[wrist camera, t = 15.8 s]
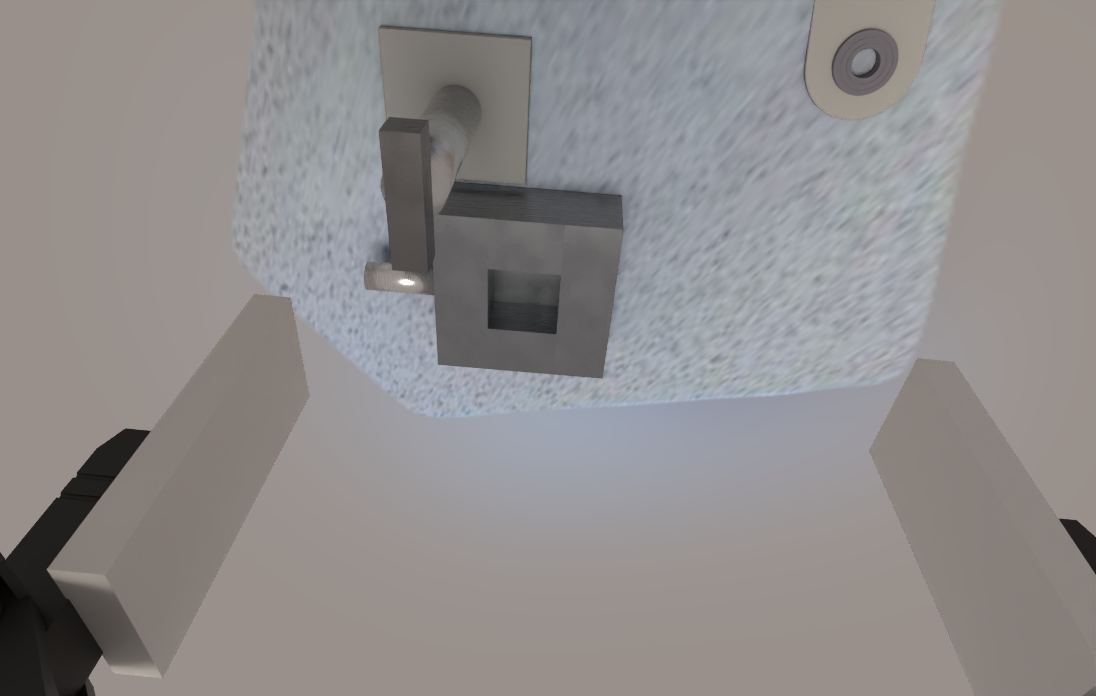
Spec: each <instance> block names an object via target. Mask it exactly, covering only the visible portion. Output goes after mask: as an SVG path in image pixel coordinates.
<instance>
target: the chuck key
mask: <svg viewBox="0 0 1096 696" xmlns="http://www.w3.org/2000/svg"><path fill="white" fill-rule="evenodd" d="M481 115H482V111H481V105H480V103H479V100H478V99H477V97H476V96H475V94H474V93H473V92H472V91H470V90H469V89H467V88H466V87H463V86H460V85H447V86H444V87H442V88H441V89H439V90H438V91H437V92H436V93H435V95H434V96H433V98H432V99H431V101H430V103H429V104H428V106H427V107H426V109H425V110H424V112H423V113H422V115H421V116H420V118H419V119H410V118H397V117H389V118H388V119H387V120H386V122H385V123H384V124H383V126H382V127H381V128H380V130H379V138H380V149H381V159H382V170H383V176H382V179H381V191H382V195H383V197H384V200H385V201H386V212H387V222H388V233H389V243H390V254H391V264H392V270H394V271H406V272H418V273H428V272H429V270H430V267H431V265H432V262H433V260H434V257H435V239H434V219H433V217H434V216H436V215H437V214H438V213H439V212H440V211H441V210H442V208H443V207H444V205H445V202H446V200H447V198H448V195H449V193H450V191H451V188H452V186H453V184H454V181H455V179H456V177H457V174H458V172H459V170H460V167H461V165H462V163H463V160H464V158H465V156H466V153H467V151H468V149H469V146H470V144H471V142H472V139H473V137H474V135H475V132H476V130H477V128H478V125H479V123H480V120H481Z"/></svg>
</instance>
